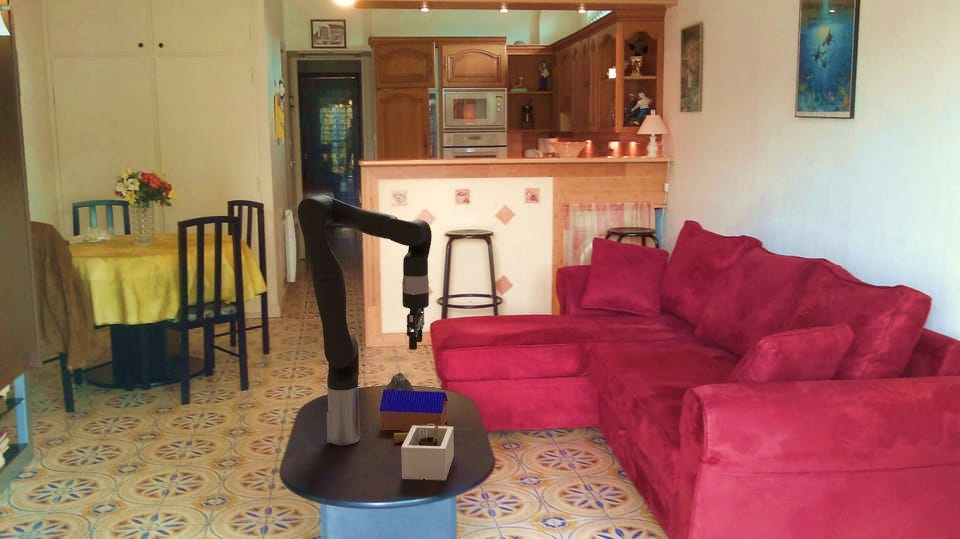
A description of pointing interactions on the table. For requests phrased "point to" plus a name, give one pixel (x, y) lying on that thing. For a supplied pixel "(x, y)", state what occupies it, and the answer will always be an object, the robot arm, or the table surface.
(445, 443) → the open rectangular box
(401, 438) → the kendama
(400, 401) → the house
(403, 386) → the mineral rock
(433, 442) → the utensil holder
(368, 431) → the table surface
